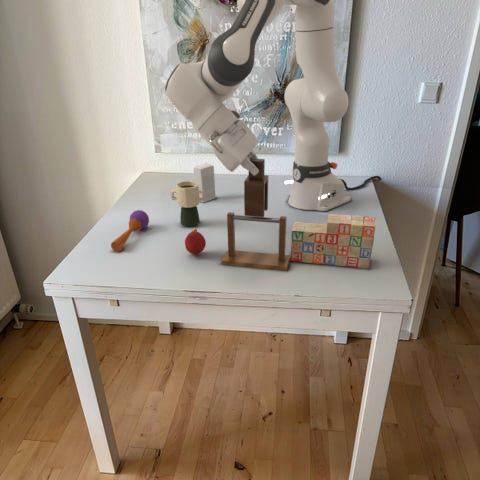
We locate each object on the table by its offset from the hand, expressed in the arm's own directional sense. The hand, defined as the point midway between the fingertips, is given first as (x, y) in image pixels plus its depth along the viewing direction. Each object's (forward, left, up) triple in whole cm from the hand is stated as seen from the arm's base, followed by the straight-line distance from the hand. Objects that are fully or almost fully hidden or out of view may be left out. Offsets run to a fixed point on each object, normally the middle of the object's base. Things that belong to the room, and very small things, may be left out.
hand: (259, 170), depth 121 cm
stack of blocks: (-17, +10, -25) cm, 32 cm away
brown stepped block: (+1, 0, -11) cm, 11 cm away
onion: (+13, -13, -25) cm, 31 cm away
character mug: (+4, -34, -25) cm, 43 cm away
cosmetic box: (-11, -51, -25) cm, 58 cm away
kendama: (+23, -35, -25) cm, 49 cm away
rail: (+1, 0, -25) cm, 25 cm away
